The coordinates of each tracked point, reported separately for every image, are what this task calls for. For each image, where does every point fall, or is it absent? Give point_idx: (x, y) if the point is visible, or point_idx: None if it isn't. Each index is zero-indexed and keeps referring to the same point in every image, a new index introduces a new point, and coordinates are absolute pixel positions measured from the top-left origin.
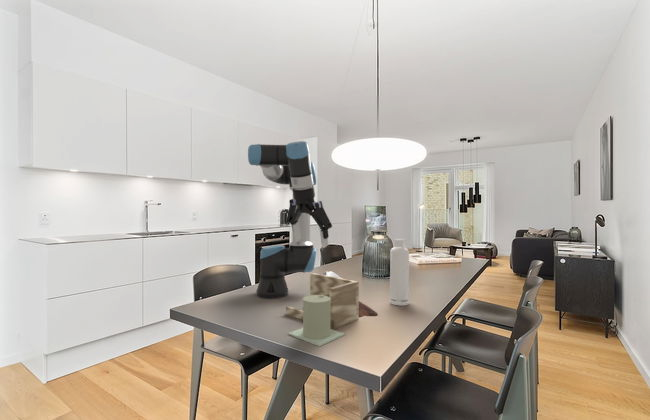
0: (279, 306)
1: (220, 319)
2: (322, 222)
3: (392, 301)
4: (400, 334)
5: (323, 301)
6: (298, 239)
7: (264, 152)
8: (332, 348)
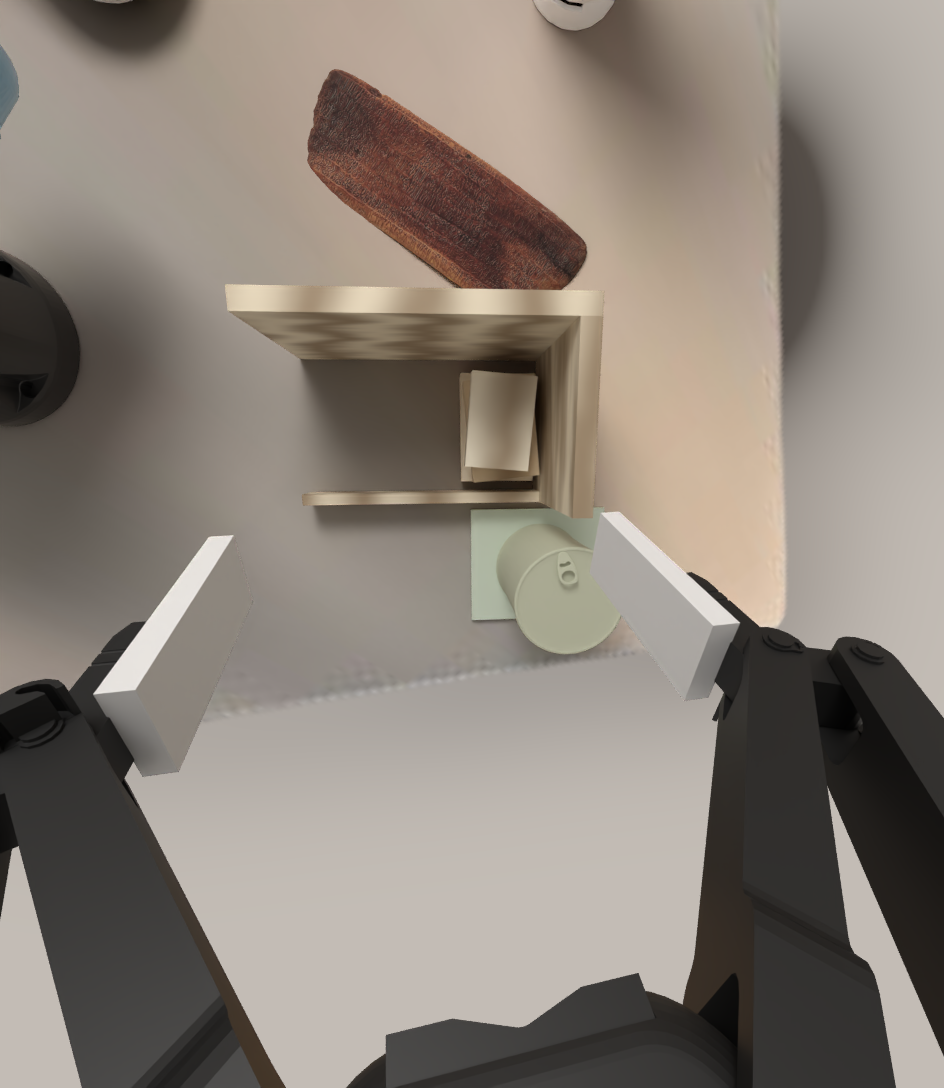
0: (204, 453)
1: None
2: (839, 800)
3: (561, 13)
4: (736, 378)
5: (614, 611)
6: (243, 579)
7: None
8: None
